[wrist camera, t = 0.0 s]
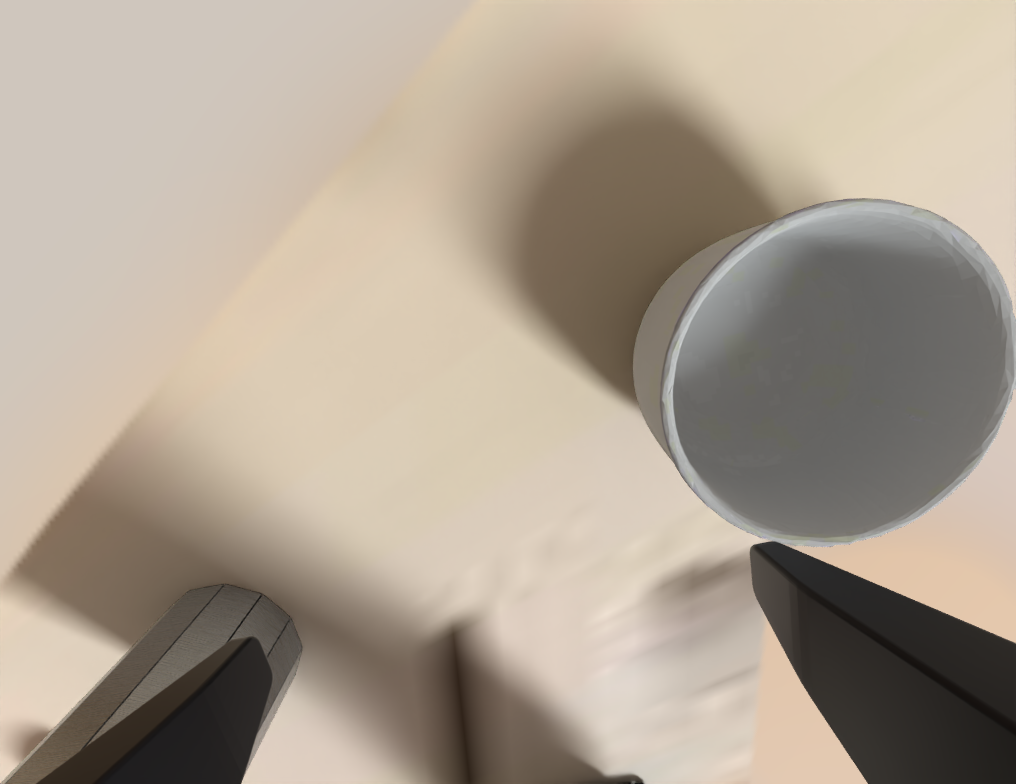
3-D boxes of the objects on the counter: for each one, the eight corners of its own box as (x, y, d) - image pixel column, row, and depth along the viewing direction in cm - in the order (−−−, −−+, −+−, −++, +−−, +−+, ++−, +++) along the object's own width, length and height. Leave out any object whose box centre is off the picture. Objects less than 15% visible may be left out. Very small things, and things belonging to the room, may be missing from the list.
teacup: (595, 443, 24) (638, 534, 16) (632, 205, 21) (706, 175, 13) (877, 469, 24) (1051, 570, 16) (951, 239, 21) (1206, 229, 13)
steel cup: (317, 686, 27) (158, 1048, 15) (192, 708, 28) (-66, 1078, 15) (274, 574, 26) (48, 881, 13) (140, 599, 26) (-203, 920, 13)
